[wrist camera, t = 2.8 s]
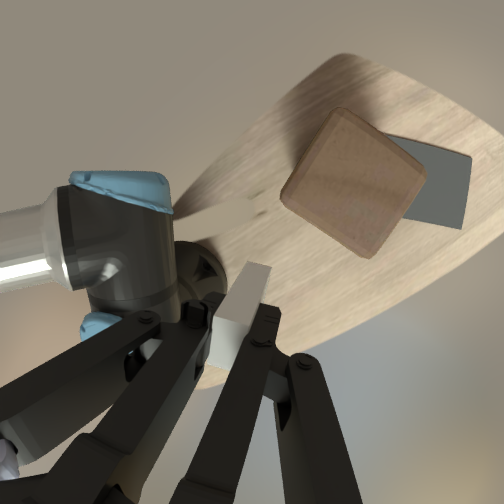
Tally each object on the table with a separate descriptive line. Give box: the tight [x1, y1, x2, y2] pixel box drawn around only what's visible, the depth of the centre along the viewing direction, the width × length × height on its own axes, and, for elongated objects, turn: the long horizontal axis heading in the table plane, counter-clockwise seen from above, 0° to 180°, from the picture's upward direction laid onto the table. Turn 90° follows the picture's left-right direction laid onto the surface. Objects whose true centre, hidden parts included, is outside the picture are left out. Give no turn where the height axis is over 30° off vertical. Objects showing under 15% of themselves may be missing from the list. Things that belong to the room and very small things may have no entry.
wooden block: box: [280, 107, 428, 259], centre depth 31 cm, size 10×10×20 cm
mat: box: [385, 135, 472, 230], centre depth 38 cm, size 17×12×1 cm
